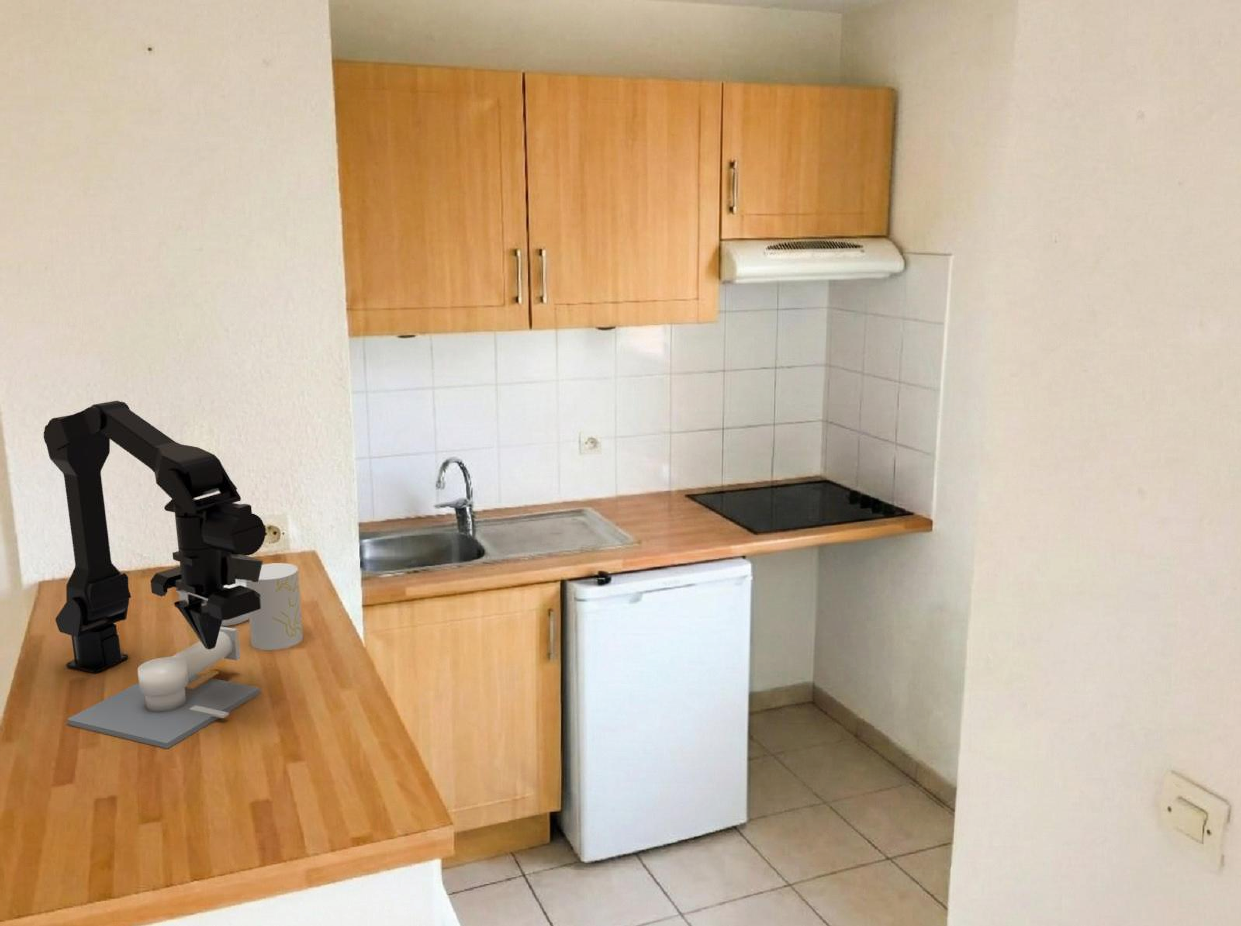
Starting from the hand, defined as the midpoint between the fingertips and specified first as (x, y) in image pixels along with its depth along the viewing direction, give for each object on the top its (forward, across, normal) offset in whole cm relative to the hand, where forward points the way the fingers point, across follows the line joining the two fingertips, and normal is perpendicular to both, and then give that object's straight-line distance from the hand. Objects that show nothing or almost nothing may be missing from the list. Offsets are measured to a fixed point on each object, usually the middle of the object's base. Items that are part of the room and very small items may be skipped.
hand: (210, 648), depth 154 cm
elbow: (+6, +5, +1) cm, 8 cm away
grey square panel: (+8, +3, +4) cm, 10 cm away
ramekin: (+8, +28, -20) cm, 35 cm away
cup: (+8, +12, -19) cm, 24 cm away
